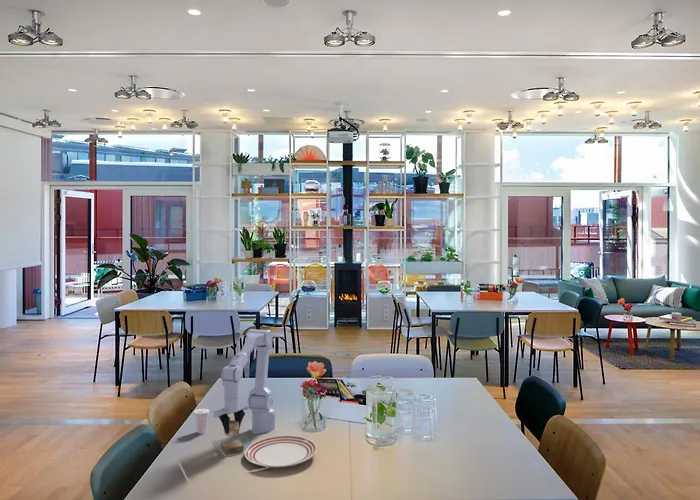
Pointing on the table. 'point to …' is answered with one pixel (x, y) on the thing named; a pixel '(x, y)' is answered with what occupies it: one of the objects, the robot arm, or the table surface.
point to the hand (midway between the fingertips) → (232, 431)
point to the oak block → (233, 428)
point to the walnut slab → (232, 447)
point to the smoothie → (201, 419)
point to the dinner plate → (280, 451)
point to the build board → (242, 439)
